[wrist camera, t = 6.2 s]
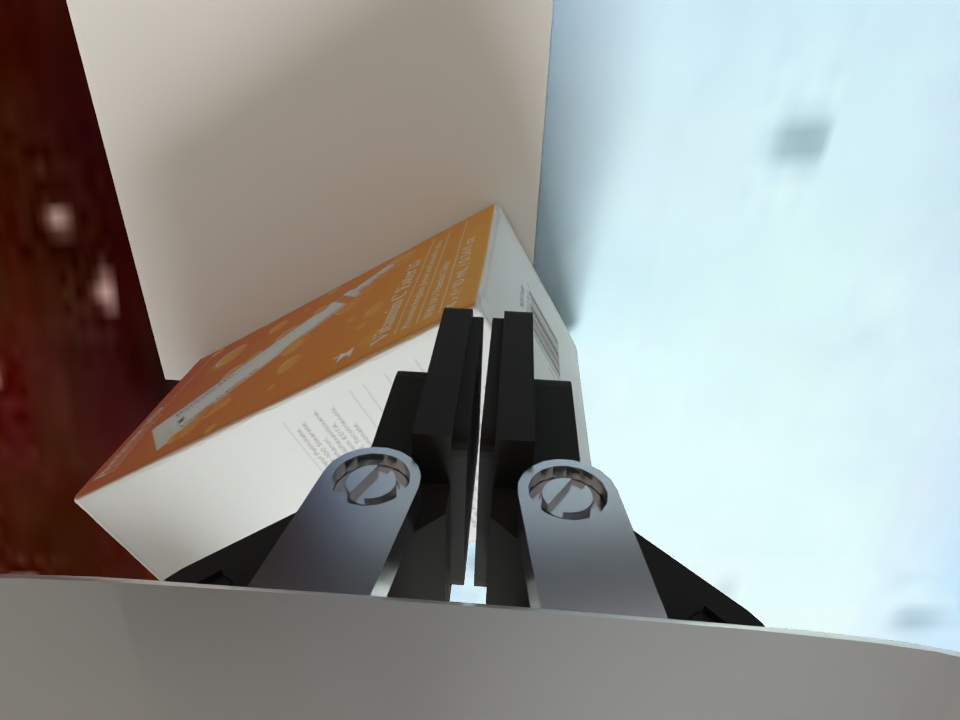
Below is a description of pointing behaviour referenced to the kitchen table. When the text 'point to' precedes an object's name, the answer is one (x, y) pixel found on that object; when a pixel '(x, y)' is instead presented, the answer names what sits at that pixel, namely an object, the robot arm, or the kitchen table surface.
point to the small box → (312, 396)
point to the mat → (305, 143)
